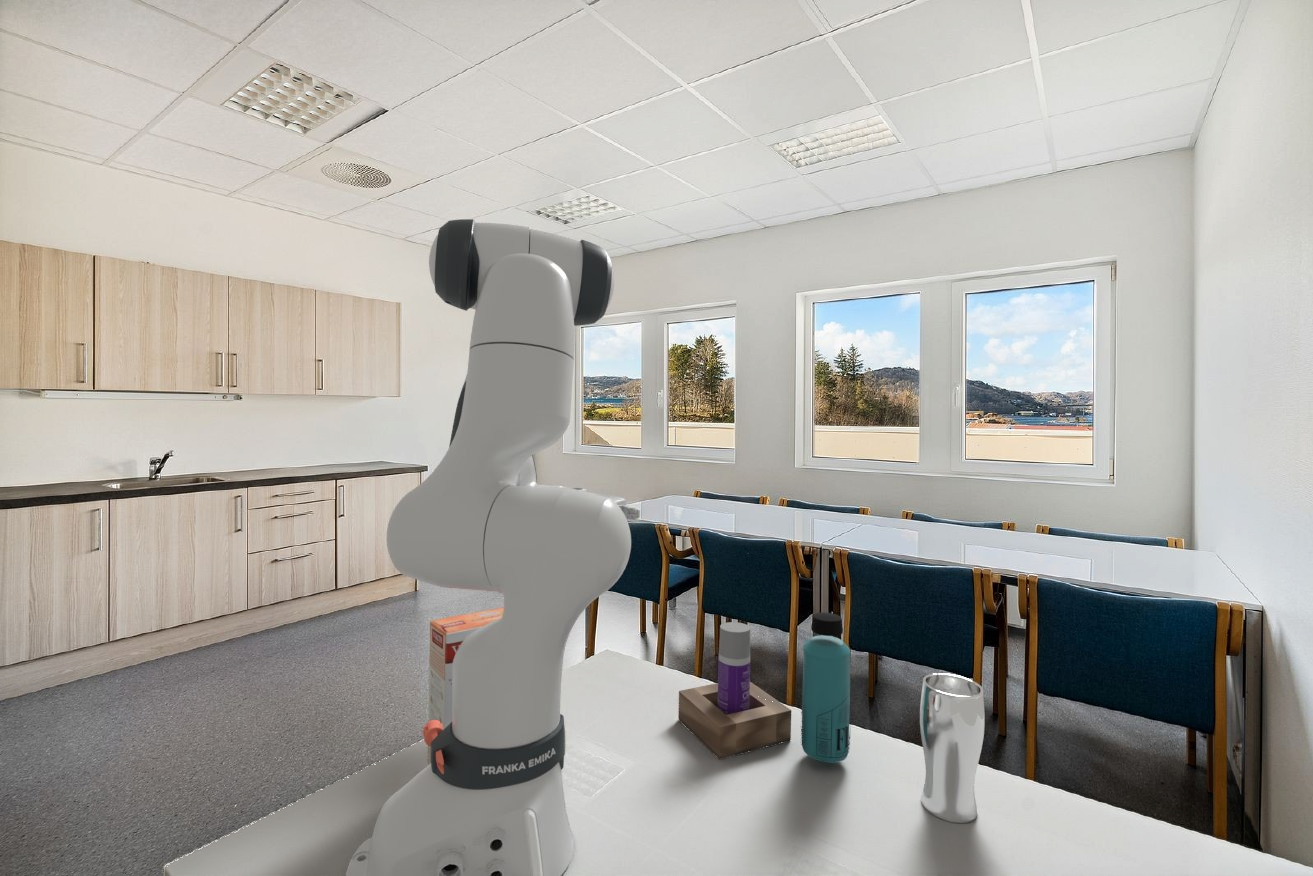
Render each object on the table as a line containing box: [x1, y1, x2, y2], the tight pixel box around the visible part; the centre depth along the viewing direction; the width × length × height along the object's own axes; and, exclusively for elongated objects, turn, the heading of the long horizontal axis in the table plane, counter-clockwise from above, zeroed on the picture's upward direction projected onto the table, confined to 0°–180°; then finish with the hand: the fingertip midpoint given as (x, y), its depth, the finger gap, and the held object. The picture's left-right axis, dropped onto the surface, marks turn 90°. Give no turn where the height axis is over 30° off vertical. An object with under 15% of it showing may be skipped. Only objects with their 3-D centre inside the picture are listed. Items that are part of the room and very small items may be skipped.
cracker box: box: [427, 606, 504, 766], centre depth 78 cm, size 14×6×21 cm, turn 129°
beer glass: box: [919, 672, 985, 824], centre depth 74 cm, size 7×7×15 cm
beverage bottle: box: [800, 612, 852, 763], centre depth 83 cm, size 6×7×20 cm
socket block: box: [677, 681, 792, 761], centre depth 91 cm, size 12×12×4 cm
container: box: [717, 621, 751, 715], centre depth 91 cm, size 5×5×15 cm
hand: (625, 518), depth 99 cm, fingers open, 8 cm apart
